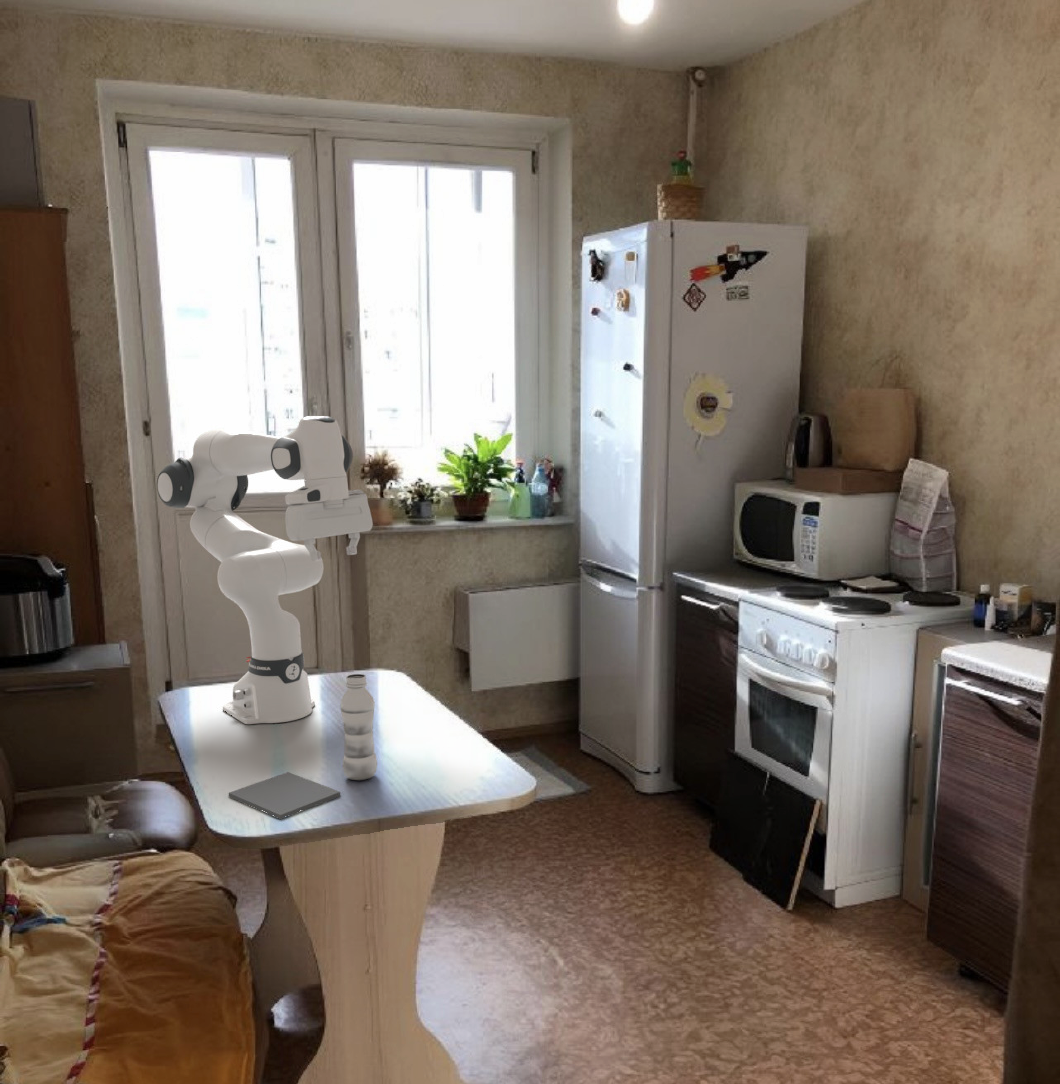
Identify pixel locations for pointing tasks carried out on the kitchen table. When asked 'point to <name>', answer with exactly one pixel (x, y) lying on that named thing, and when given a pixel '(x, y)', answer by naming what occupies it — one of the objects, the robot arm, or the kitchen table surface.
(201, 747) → the kitchen table surface
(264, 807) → the mat
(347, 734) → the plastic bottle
